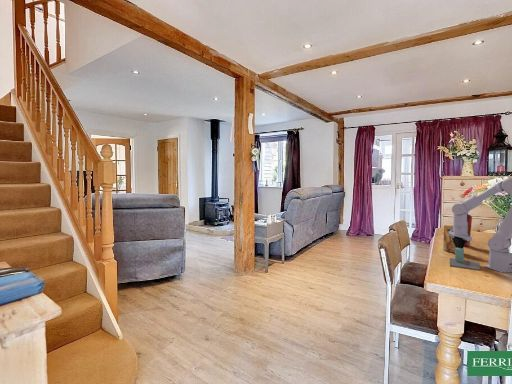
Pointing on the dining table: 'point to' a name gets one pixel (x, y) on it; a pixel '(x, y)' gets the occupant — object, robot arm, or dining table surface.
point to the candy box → (448, 239)
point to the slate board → (465, 264)
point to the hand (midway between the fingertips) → (459, 251)
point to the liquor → (468, 228)
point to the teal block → (459, 254)
